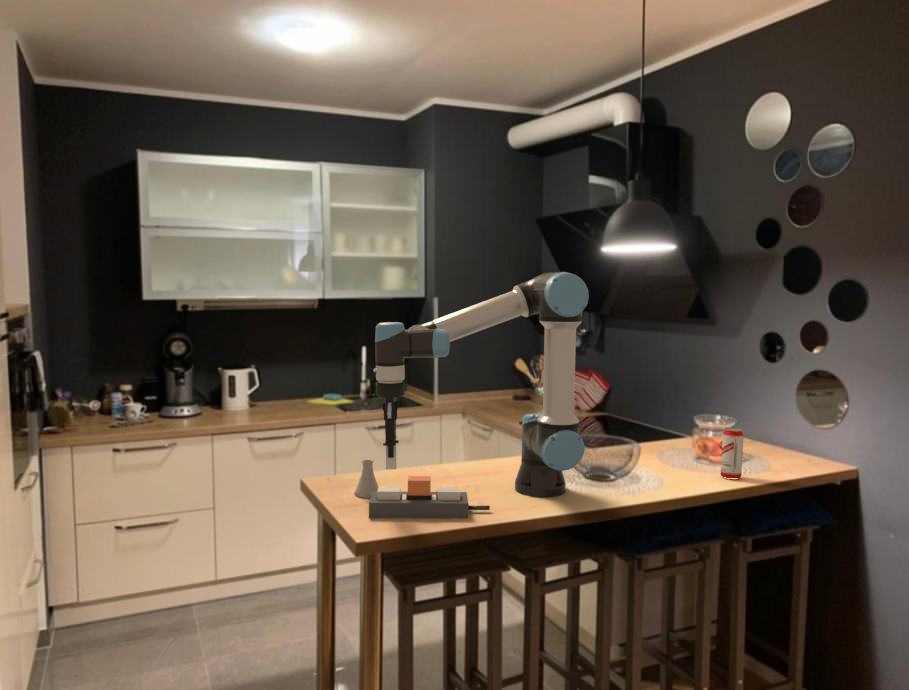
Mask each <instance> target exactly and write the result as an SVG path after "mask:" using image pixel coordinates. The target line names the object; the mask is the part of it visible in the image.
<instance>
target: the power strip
mask: <svg viewBox="0 0 909 690" xmlns="http://www.w3.org/2000/svg"><path fill="white" fill-rule="evenodd" d="M490 509H491V506H490V505H469V497H468V492H467V491H461V497H460V500H438V491H430V496H424V495H408V491H401V500H377V491H372V493H371V497H370V498H369V501H368V518H369V519H469V511H490Z"/></svg>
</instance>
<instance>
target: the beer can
mask: <svg viewBox="0 0 909 690" xmlns="http://www.w3.org/2000/svg"><path fill="white" fill-rule="evenodd" d="M721 443H722V444H721V460H720V462H721V463H720V476H721V477H722V476H723V477H726V478H739V479H741V478H740V477H742V469H743V453H744V450H743V449H744V433H743V429H742V428H738V427H724V431H723V432H722V442H721ZM723 477H722V478H723Z"/></svg>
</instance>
